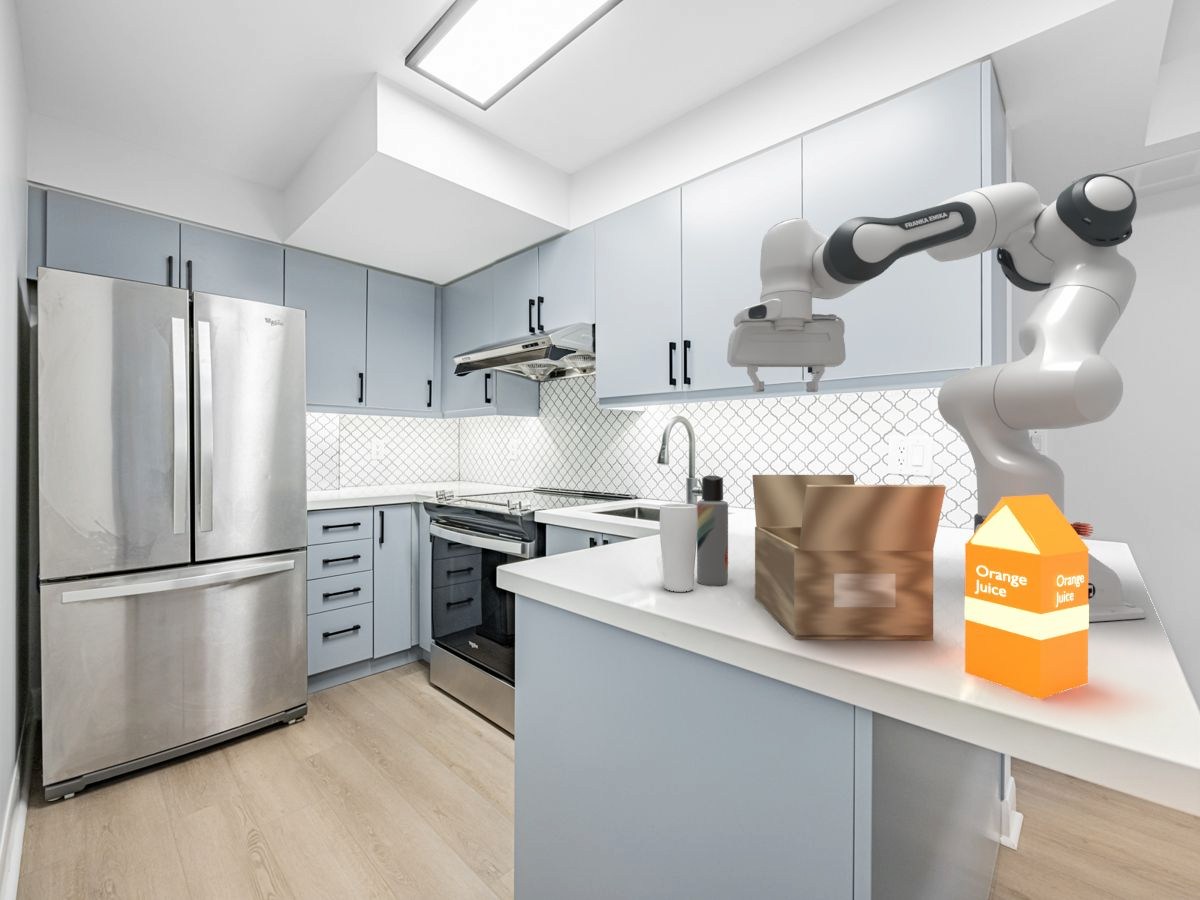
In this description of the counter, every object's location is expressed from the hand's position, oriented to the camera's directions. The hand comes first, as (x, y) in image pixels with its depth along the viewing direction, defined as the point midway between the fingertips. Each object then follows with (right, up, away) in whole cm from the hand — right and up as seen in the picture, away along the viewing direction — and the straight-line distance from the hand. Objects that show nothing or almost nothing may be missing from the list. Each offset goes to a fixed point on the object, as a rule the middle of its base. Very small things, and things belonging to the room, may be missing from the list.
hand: (785, 392), depth 99 cm
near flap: (+2, -19, -27) cm, 33 cm away
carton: (+2, -35, -16) cm, 39 cm away
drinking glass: (-19, -35, 0) cm, 40 cm away
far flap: (+2, -19, -5) cm, 20 cm away
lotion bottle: (-12, -35, +5) cm, 38 cm away
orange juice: (+14, -36, -38) cm, 54 cm away
